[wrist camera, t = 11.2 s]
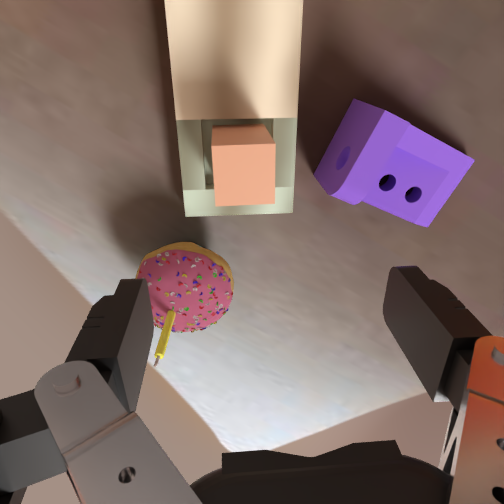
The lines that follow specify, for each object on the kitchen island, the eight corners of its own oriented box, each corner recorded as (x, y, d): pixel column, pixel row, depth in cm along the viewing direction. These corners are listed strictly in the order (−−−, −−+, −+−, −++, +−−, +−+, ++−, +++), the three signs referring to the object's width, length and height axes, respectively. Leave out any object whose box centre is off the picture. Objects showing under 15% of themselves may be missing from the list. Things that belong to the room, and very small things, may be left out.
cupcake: (189, 313, 39) (179, 410, 29) (122, 263, 36) (84, 353, 25) (249, 262, 37) (263, 347, 26) (184, 203, 34) (170, 275, 23)
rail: (305, -222, 22) (315, -252, 20) (287, 202, 34) (292, 212, 32) (147, -229, 21) (139, -261, 19) (187, 205, 34) (185, 216, 31)
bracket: (312, 173, 34) (333, 201, 28) (352, 97, 31) (385, 110, 25) (419, 220, 37) (459, 254, 31) (464, 155, 34) (518, 178, 28)
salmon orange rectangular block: (263, 123, 30) (275, 143, 24) (263, 173, 32) (274, 203, 26) (212, 125, 29) (211, 146, 23) (215, 175, 31) (215, 206, 25)
